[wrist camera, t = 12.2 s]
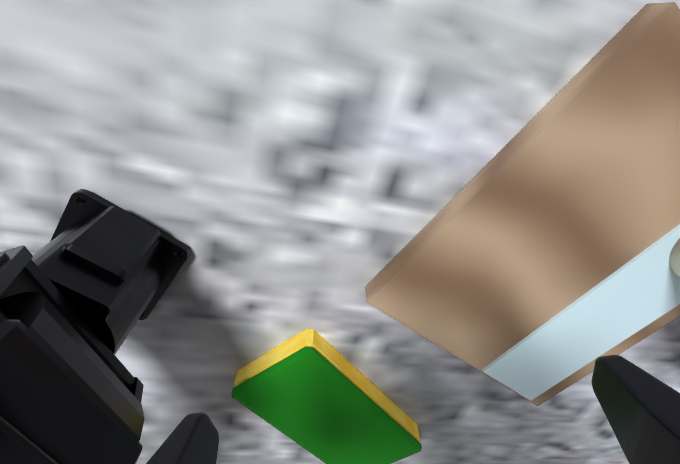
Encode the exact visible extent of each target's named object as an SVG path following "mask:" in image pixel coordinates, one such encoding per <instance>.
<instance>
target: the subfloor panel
mask: <svg viewBox="0 0 680 464" xmlns="http://www.w3.org/2000/svg"><path fill="white" fill-rule="evenodd" d="M679 238H680V9H679V7H678V6H677V5H676V3H675V2H672V3H653V4H646V5H645V6H644V7H643V8H642V9H641V10H640V11H639V12H638V13H637V14H636V15H635V16H634V17H633V18H632V19H631V20H630V21H629V22H628V23H627V24H626V25H625V26H624V27H623V28H622V29H621V30H620V31H619V32H618V33H617V34H616V35H615V36H614V37H613V38H612V39H611V40H610V41H609V42H608V43H607V45H606V46H605V47H604V48H603V49H602V50H601V51H600V52H599V53H598V54H597V55H596V56H595V57H594V58H593V59H592V60H591V61H590V62H589V63H588V64H587V65H586V66H585V67H584V68H583V69H582V70H581V71H580V72H579V73H578V74H577V75H576V76H575V77H574V78H573V79H572V80H571V81H570V82H569V83H568V84H567V85H566V86H565V87H564V88H563V89H562V90H561V91H560V92H559V93H558V94H557V95H556V96H555V97H554V98H553V99H552V100H551V101H550V102H549V103H548V104H547V105H546V106H545V107H544V108H543V109H542V110H541V111H540V112H539V113H538V114H537V115H536V116H535V117H534V118H533V119H532V120H531V121H530V122H529V123H528V124H527V125H526V126H525V127H524V128H523V129H522V130H521V131H520V132H519V133H518V134H517V135H516V136H515V137H514V138H513V139H512V140H511V141H510V142H509V143H508V144H507V145H506V146H505V147H504V148H503V149H502V150H501V151H500V152H499V153H498V154H497V155H496V156H495V157H494V158H493V159H492V160H491V161H490V162H489V163H488V164H487V165H486V166H485V167H484V168H483V169H482V170H481V171H480V172H479V173H478V174H477V175H476V176H475V177H474V178H473V179H472V180H471V181H470V182H469V183H468V184H467V185H466V186H465V187H464V188H463V189H462V190H461V191H460V192H459V193H458V194H457V195H456V196H455V197H454V198H453V199H452V200H451V201H450V202H449V203H448V204H447V205H446V206H445V207H444V208H443V209H442V210H441V211H440V212H439V213H438V214H437V215H436V216H435V217H434V218H433V219H432V220H431V221H430V222H429V223H428V224H427V225H426V226H425V227H424V228H423V229H422V230H421V231H420V232H419V233H418V234H417V235H416V236H415V237H414V238H413V239H412V240H411V241H410V242H409V243H408V244H407V245H406V246H405V247H404V248H403V249H402V250H401V251H400V252H399V253H398V254H397V255H396V256H395V257H394V258H393V259H392V260H391V261H390V262H389V263H388V264H387V265H386V266H385V267H384V268H383V269H382V270H381V271H380V272H379V273H378V274H377V275H376V276H375V277H374V278H373V279H372V280H371V281H370V282H369V283H368V284H367V285H366V286H365V290H366V298H367V303H368V304H370V305H372V306H373V307H375V308H377V309H378V310H380V311H382V312H383V313H385V314H387V315H388V316H390V317H392V318H393V319H395V320H397V321H398V322H400V323H402V324H403V325H405V326H406V327H408V328H410V329H411V330H413V331H415V332H416V333H418V334H420V335H421V336H423V337H425V338H426V339H428V340H430V341H431V342H433V343H435V344H436V345H438V346H439V347H441V348H443V349H444V350H446V351H448V352H449V353H451V354H453V355H454V356H456V357H458V358H459V359H461V360H463V361H464V362H466V363H468V364H469V365H471V366H472V367H474V368H476V369H477V370H479V371H481V372H482V373H484V374H486V375H487V376H489V377H491V378H492V379H494V380H496V381H497V382H499V383H501V384H502V385H504V386H505V387H507V388H509V389H510V390H512V391H514V392H515V393H517V394H519V395H520V396H522V397H524V398H525V399H527V400H529V401H530V402H532V403H534V404H535V405H537V406H539V405H540V404H542V403H544V402H545V401H547V400H548V399H550V398H551V397H553V396H555V395H556V394H558V393H559V392H561V391H562V390H564V389H566V388H567V387H569V386H570V385H572V384H573V383H575V382H577V381H578V380H580V379H581V378H583V377H584V376H586V375H588V374H589V373H591V372H592V371H594V365H595V360H596V359H597V358H598V357H601V356H608V355H619V354H621V353H622V352H624V351H625V350H627V349H629V348H630V347H632V346H633V345H635V344H636V343H638V342H640V341H641V340H643V339H644V338H646V337H647V336H649V335H651V334H652V333H654V332H655V331H657V330H658V329H660V328H662V327H663V326H665V325H666V324H668V323H669V322H671V321H673V320H674V319H676V318H677V317H679V316H680V277H679V276H678V275H676V274H675V273H674V272H673V271H672V270H671V268H670V265H669V256H670V252H671V250H672V248H673V246H674V245H675V243H676V242H677V240H678V239H679Z"/></svg>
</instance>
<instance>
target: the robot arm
mask: <svg viewBox="0 0 680 464" xmlns="http://www.w3.org/2000/svg"><path fill="white" fill-rule="evenodd" d="M80 197H83V198H84V199H85V200H86V202H84V201H83V200H81V198H80ZM177 251H181V252H182V253H183V254H179V253H178V252H177ZM189 254H190V249H189V248H188V247H187V246H186V245H185V244H183V243H181V242H179V241H177V240H176V239H174V238H172V237H170V236H169V235H167V234H165V233H163V232H161V231H160V230H158V229H156V228H155V227H153V226H151V225H149V224H147V223H146V222H144V221H142V220H140V219H138V218H137V217H135V216H133V215H131V214H130V213H128V212H126V211H124V210H122V209H121V208H119V207H117V206H115V205H113V204H111V203H109V202H108V201H106V200H104V199H102V198H100V197H99V196H97V195H95V194H93V193H92V192H90V191H88V190H85V189H80V190H78V191H76V192H75V193H73V194H72V195H71V197H70V200H69V202H68V204H67V206H66V208H65V210H64V213H63V215H62V217H61V219H60V221H59V223H58V226H57V228H56V230H55V232H54V234H53V237H52V239H51V241H50V242H49V243H48V244H47V245H46V246H44V247H43V248H42V249H40V250H39V251H38V252H37V253H35V254H34V255H33V256H32V254H31V253H30V252H29V251H28V250H27V249H26V247H25V246H20V247H16V248H13V249H10V250H7V251H3V252H0V464H135V463H136V461H137V459H138V457H139V456H140V453H141V451H142V444H141V443H140V442H139V440H140V437H141V432H142V428H143V423H144V414H143V409H142V404H141V399H142V392H143V384H142V383H141V381H140V380H139V379H138V378H137V377H133V376H132V375H131V373H130V372H129V371H128V370H127V369H126V368H125V367H124V365H123V364H122V363H121V362H120V361H119V360H118V358H117V357H116V356H115V354H116V353H117V351H118V350H119V348H120V346H121V345H122V343H123V342H124V340H125V339H126V337H127V336H128V334H129V333H130V331H131V330H132V328H133V327H134V325H135V324H136V322H137V320H138V319H139V320H144V319H146V318H147V317H148V315H149V314H150V312H151V311H152V309H153V308H154V307H155V305H156V304H157V302H158V301H159V299H160V298H161V296H162V295H163V293H164V292H165V290H166V289H167V287H168V286H169V285H170V283H171V282H172V280H173V279H174V277H175V276H176V274H177V273H178V271H179V270H180V268H181V267H182V265H183V264H184V262H185V261H186V260H187V258H188V256H189ZM592 387H593V390H594V393H595V395H596V397H597V399H598V401H599V403H600V405H601V407H602V409H603V411H604V413H605V415H606V417H607V419H608V421H609V423H610V425H611V427H612V429H613V431H614V433H615V435H616V438H617V440H618V442H619V444H620V446H621V448H622V450H623V452H624V454H625V456H626V458H627V460H628V461H629V463H630V464H680V393H679V392H677V391H676V390H674V389H672V388H671V387H669V386H668V385H666V384H665V383H663V382H661V381H660V380H658V379H657V378H655V377H653V376H652V375H650V374H649V373H647V372H645V371H644V370H642V369H641V368H639V367H637V366H636V365H634V364H633V363H631V362H630V361H628V360H626V359H625V358H623V357H621V356H619V355H608V356H601V357H598V358H597V359H596V360H595V365H594V371H593V376H592ZM218 443H219V436H218V432H217V429H216V428H215V426H214V425H213V423H212V422H211V420H210V419H209V417H208V415H207V414H206V413H204V412H200V413H193V414H189V415H187V416H186V417H185V418H184V419H183V420H182V421H181V423H180V424H179V425H178V426H177V427H176V429H175V430H174V431H173V432H172V433H171V435H170V436H169V437H168V438H167V439H166V441H165V442H164V443H163V444H162V445H161V447H160V448H159V449H158V450H157V451H156V453H155V454H154V455H153V456H152V457H151V459H150V460H149V461H148V462H147V463H146V464H216V459H217V451H218Z"/></svg>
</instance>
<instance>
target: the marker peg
mask: <svg viewBox="0 0 680 464" xmlns="http://www.w3.org/2000/svg"><path fill="white" fill-rule="evenodd" d="M669 265H670V268H671V270H672V271H673V272H674V273H675V274H676V275H678V276H679V277H680V238H679V239H678V240H677V242H676V243H675V245H674V246H673V248H672V250H671V252H670V256H669Z"/></svg>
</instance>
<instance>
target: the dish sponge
mask: <svg viewBox="0 0 680 464" xmlns="http://www.w3.org/2000/svg"><path fill="white" fill-rule="evenodd" d="M232 397H233V398H234V399H236V400H237V401H239V402H240V403H241V404H243V405H244V406H246V407H247V408H248V409H250V410H251V411H253V412H254V413H255V414H257V415H258V416H260V417H261V418H262V419H264V420H265V421H267V422H268V423H269V424H271V425H272V426H274V427H275V428H277V429H278V430H279V431H281V432H282V433H284V434H285V435H286V436H288V437H289V438H291V439H292V440H293V441H295V442H296V443H298V444H299V445H300V446H302V447H303V448H305V449H306V450H308V451H309V452H310V453H312V454H313V455H315V456H316V457H317V458H319V459H320V460H322V461H323V462H324V463H326V464H391V463H393V462H396V461H398V460H401V459H403V458H405V457H408V456H410V455H413V454H415V453H418V452H420V451H421V448H422V447H421V443H420V437H419V431H418V426H417V424H416V423H415V422H414V421H413V420H412V419H411V418H410V417H409V416H408V415H407V414H405V413H404V412H403V411H402V410H401V409H400V408H399V407H398V406H397V405H396V404H395V403H393V402H392V401H391V400H390V399H389V398H388V397H387V396H386V395H385V394H384V393H383V392H381V391H380V390H379V389H378V388H377V387H376V386H375V385H374V384H373V383H372V382H371V381H369V380H368V379H367V378H366V377H365V376H364V375H363V374H362V373H361V372H360V371H359V370H357V369H356V368H355V367H354V366H353V365H352V364H351V363H350V362H349V361H348V360H347V359H345V358H344V357H343V356H342V355H341V354H340V353H339V352H338V351H337V350H336V349H335V348H333V347H332V346H331V345H330V344H329V343H328V342H327V341H326V340H325V339H324V338H323V337H321V336H320V335H319V334H318V333H317V332H316V331H315V330H313V329H306V330H304V331H303V332H301V333H299V334H298V335H296V336H294V337H293V338H291V339H289V340H288V341H286V342H284V343H283V344H281V345H279V346H277V347H276V348H274V349H272V350H271V351H269V352H267V353H266V354H264V355H262V356H261V357H259V358H257V359H256V360H254V361H252V362H251V363H249V364H247V365H246V366H244V367H242V368H241V369H239V370H238V372H237V375H236V379H235V383H234V388H233V390H232Z"/></svg>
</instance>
